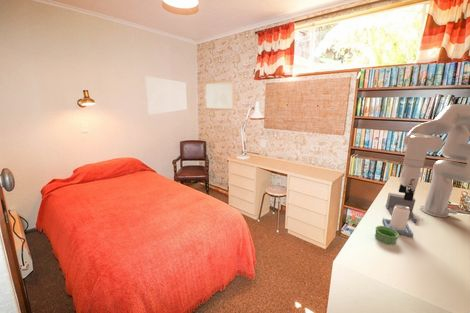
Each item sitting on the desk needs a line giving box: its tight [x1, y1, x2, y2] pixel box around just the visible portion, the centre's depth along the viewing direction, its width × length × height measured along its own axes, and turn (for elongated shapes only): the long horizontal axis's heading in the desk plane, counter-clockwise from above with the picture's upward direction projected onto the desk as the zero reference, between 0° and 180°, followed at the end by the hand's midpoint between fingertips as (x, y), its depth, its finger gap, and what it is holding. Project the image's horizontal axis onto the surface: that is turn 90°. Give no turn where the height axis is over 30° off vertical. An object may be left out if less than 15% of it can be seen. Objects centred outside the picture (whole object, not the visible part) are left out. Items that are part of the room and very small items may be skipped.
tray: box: [382, 217, 414, 239], centre depth 112 cm, size 11×11×2 cm
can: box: [390, 204, 410, 231], centre depth 111 cm, size 6×6×12 cm
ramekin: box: [374, 225, 400, 245], centre depth 103 cm, size 9×9×4 cm
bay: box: [385, 192, 418, 224], centre depth 127 cm, size 12×16×9 cm
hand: (404, 196), depth 108 cm, fingers open, 9 cm apart
